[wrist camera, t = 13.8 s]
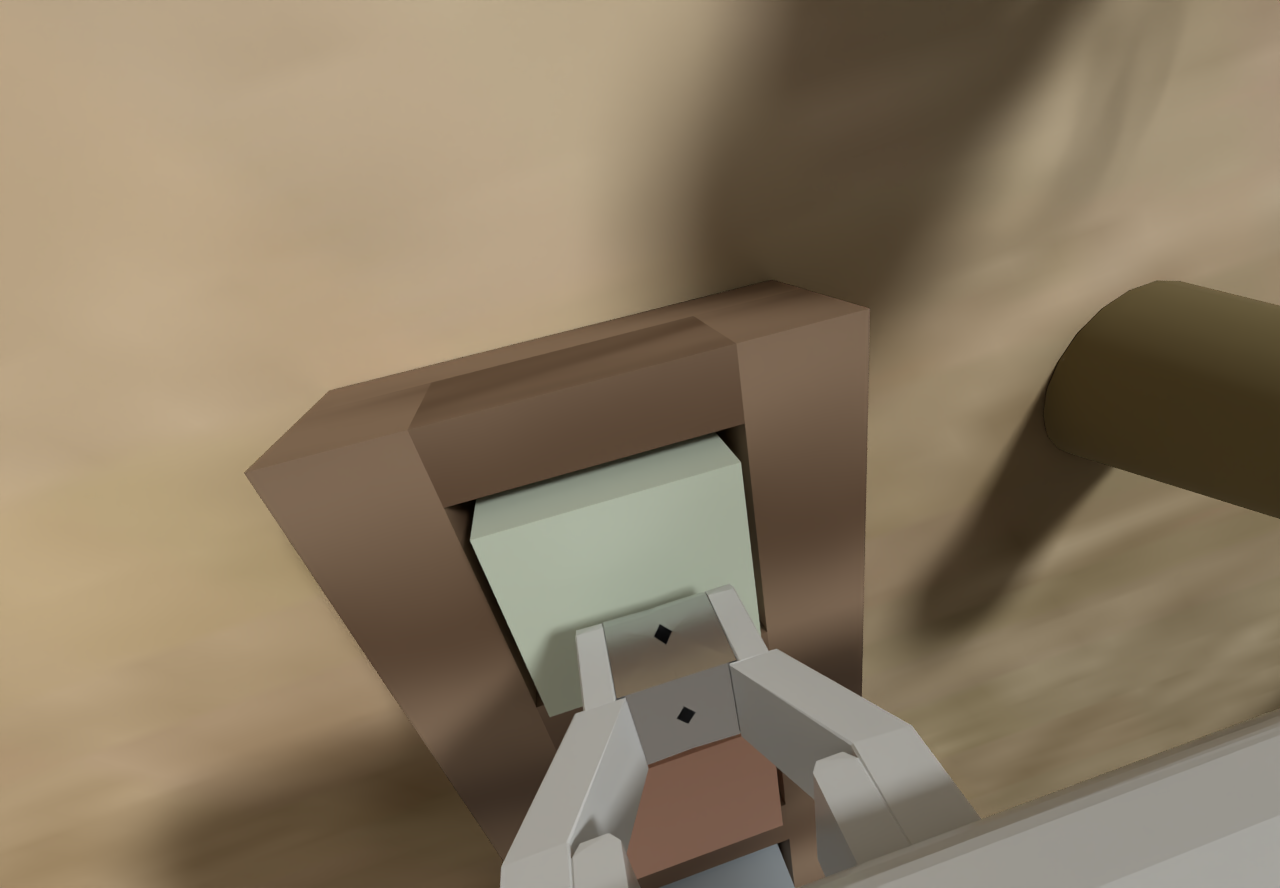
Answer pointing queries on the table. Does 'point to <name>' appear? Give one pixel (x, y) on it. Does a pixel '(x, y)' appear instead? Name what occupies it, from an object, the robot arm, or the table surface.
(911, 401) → the table surface
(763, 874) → the slate key
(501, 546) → the sage key
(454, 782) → the key frame
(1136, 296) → the cork
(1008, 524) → the table surface
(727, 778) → the terracotta key
